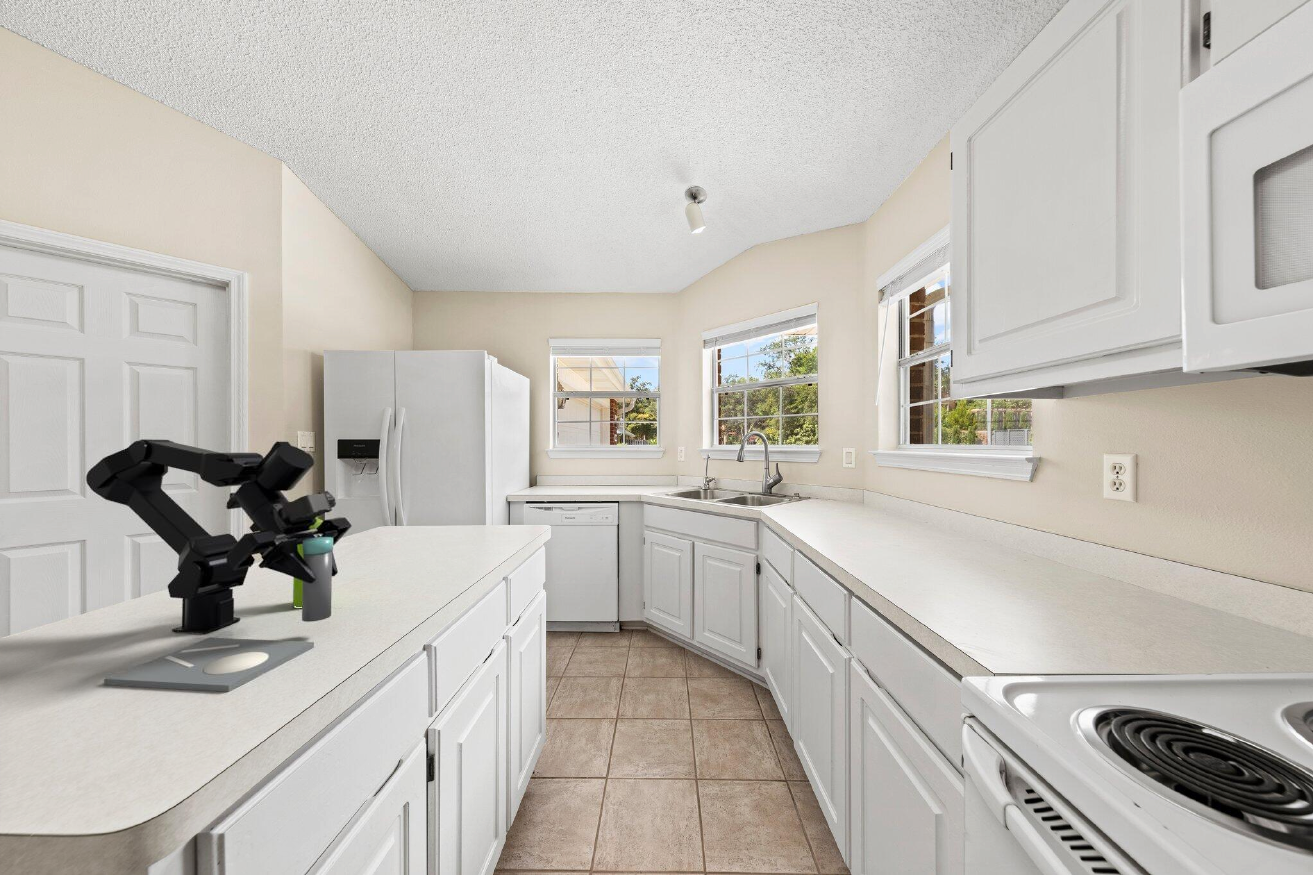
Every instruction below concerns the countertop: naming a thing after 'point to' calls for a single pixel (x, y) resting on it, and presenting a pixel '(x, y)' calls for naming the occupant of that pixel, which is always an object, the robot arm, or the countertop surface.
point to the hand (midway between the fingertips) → (324, 577)
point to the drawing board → (211, 664)
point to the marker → (317, 579)
